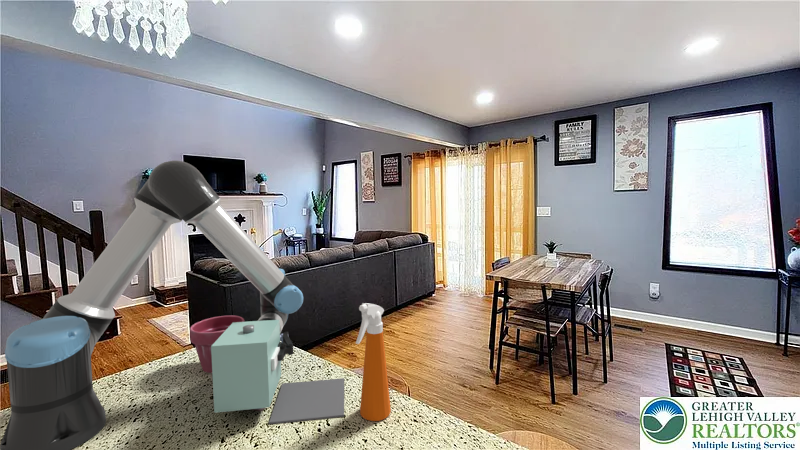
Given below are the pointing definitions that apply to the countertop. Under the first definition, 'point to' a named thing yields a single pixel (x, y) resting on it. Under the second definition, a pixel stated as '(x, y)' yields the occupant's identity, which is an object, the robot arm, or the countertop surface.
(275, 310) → the robot arm
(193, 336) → the plant pot
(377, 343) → the spray bottle
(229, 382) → the box
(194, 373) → the countertop surface
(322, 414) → the rubber mat
